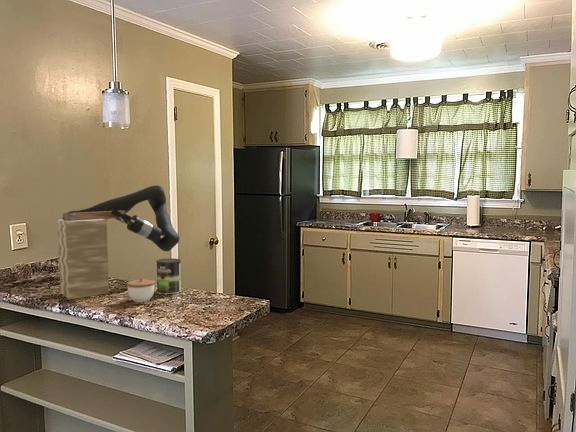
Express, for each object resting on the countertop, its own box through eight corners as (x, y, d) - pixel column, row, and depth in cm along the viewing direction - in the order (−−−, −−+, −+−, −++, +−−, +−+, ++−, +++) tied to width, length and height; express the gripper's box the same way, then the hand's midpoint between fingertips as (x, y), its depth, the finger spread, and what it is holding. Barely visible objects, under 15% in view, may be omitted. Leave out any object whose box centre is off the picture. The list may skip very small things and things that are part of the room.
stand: (60, 292, 204) (57, 219, 201) (98, 287, 214) (96, 217, 211) (69, 299, 193) (66, 221, 190) (108, 293, 203) (106, 219, 200)
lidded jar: (138, 296, 197) (138, 274, 197) (160, 298, 194) (159, 276, 193) (121, 302, 187) (121, 279, 187) (144, 305, 184) (143, 281, 183)
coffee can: (173, 295, 198) (172, 263, 197) (152, 294, 201) (151, 261, 200) (185, 290, 208) (185, 258, 207) (165, 288, 211) (164, 257, 210)
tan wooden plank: (63, 220, 198) (62, 213, 198) (121, 217, 214) (121, 210, 214) (66, 221, 194) (65, 213, 194) (125, 217, 210) (125, 211, 210)
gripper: (137, 218, 224) (107, 202, 214) (149, 220, 213) (118, 203, 203) (130, 232, 222) (99, 216, 212) (142, 235, 211) (110, 219, 201)
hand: (108, 210), depth 208 cm, fingers open, 8 cm apart
